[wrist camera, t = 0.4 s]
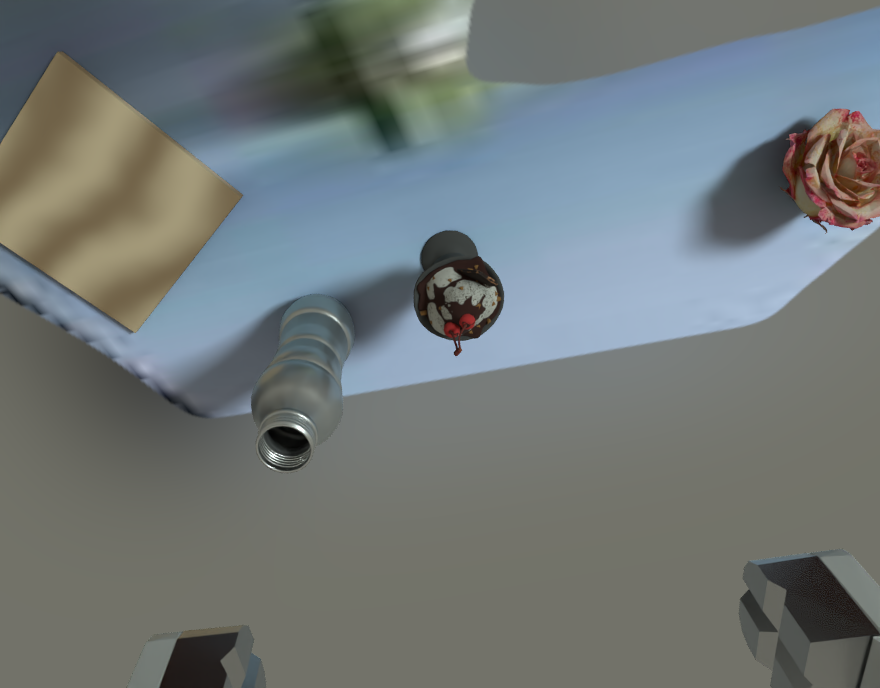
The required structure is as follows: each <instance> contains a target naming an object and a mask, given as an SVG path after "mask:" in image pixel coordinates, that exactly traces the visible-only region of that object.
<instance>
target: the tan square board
mask: <svg viewBox="0 0 880 688" xmlns="http://www.w3.org/2000/svg"><path fill="white" fill-rule="evenodd" d="M242 196H243V195H242V194H241V193H240V192H239V191H237V190H236V189H235V188H234V187H232V186H231V185H230V184H229V183H227V182H226V181H225V180H224V179H222V178H221V177H220V176H219V175H217V174H216V173H215V172H213V171H212V170H211V169H210V168H208V167H207V166H206V165H205V164H203V163H202V162H201V161H200V160H198V159H197V158H196V157H195V156H193V155H192V154H191V153H190V152H188V151H187V150H186V149H185V148H183V147H182V146H181V145H180V144H178V143H177V142H176V141H175V140H173V139H172V138H171V137H170V136H168V135H167V134H166V133H164V132H163V131H162V130H161V129H159V128H158V127H157V126H156V125H154V124H153V123H152V122H151V121H149V120H148V119H147V118H146V117H144V116H143V115H142V114H141V113H139V112H138V111H137V110H136V109H134V108H133V107H132V106H131V105H129V104H128V103H127V102H126V101H124V100H123V99H122V98H120V97H119V96H118V95H117V94H115V93H114V92H113V91H112V90H110V89H109V88H108V87H107V86H105V85H104V84H103V83H102V82H100V81H99V80H98V79H97V78H95V77H94V76H93V75H92V74H90V73H89V72H88V71H87V70H85V69H84V68H83V67H82V66H80V65H79V64H78V63H77V62H75V61H74V60H73V59H71V58H70V57H69V56H68V55H66V54H65V53H64V52H57V53H56V55H55V57H54V58H53V60H52V61H51V63H50V65H49V66H48V68H47V70H46V71H45V73H44V74H43V76H42V78H41V79H40V81H39V82H38V84H37V86H36V87H35V89H34V91H33V92H32V94H31V95H30V97H29V99H28V100H27V102H26V104H25V105H24V107H23V108H22V110H21V112H20V113H19V115H18V116H17V118H16V120H15V121H14V123H13V125H12V126H11V128H10V129H9V131H8V133H7V134H6V136H5V138H4V139H3V141H2V142H1V144H0V243H1V244H3V245H4V246H6V247H7V248H9V249H10V250H12V251H13V252H15V253H16V254H18V255H19V256H21V257H22V258H24V259H25V260H27V261H28V262H30V263H31V264H33V265H34V266H36V267H37V268H39V269H40V270H42V271H43V272H45V273H46V274H48V275H49V276H51V277H52V278H54V279H55V280H57V281H58V282H60V283H61V284H63V285H64V286H66V287H67V288H69V289H70V290H72V291H73V292H75V293H76V294H78V295H79V296H81V297H82V298H84V299H85V300H87V301H88V302H90V303H91V304H93V305H94V306H96V307H97V308H99V309H100V310H102V311H103V312H105V313H106V314H108V315H109V316H111V317H112V318H114V319H115V320H117V321H118V322H120V323H121V324H123V325H124V326H126V327H127V328H129V329H130V330H132V331H133V332H134V333H136V332H137V331H138V330H139V328H140V327H141V326H142V324H143V323H144V322H145V321H146V319H147V318H148V317H149V316H150V314H151V313H152V312H153V310H154V309H155V308H156V307H157V305H158V304H159V303H160V301H161V300H162V299H163V298H164V296H165V295H166V294H167V292H168V291H169V290H170V289H171V287H172V286H173V285H174V283H175V282H176V281H177V280H178V278H179V277H180V276H181V274H182V273H183V272H184V271H185V269H186V268H187V267H188V266H189V264H190V263H191V262H192V260H193V259H194V258H195V257H196V255H197V254H198V253H199V251H200V250H201V249H202V248H203V246H204V245H205V244H206V242H207V241H208V240H209V239H210V237H211V236H212V235H213V233H214V232H215V231H216V230H217V228H218V227H219V226H220V225H221V223H222V222H223V221H224V219H225V218H226V217H227V216H228V214H229V213H230V212H231V210H232V209H233V208H234V207H235V205H236V204H237V203H238V201H239V200H240V199H241V198H242Z"/></svg>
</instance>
